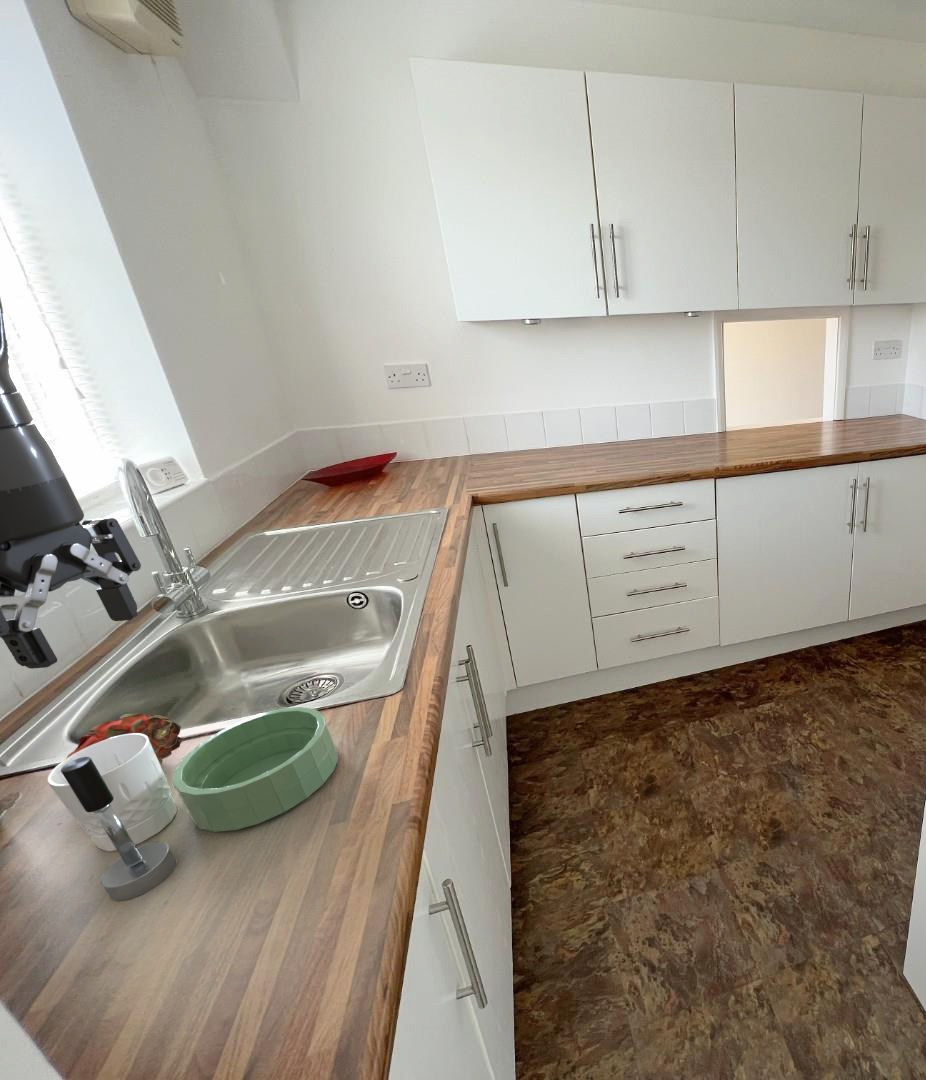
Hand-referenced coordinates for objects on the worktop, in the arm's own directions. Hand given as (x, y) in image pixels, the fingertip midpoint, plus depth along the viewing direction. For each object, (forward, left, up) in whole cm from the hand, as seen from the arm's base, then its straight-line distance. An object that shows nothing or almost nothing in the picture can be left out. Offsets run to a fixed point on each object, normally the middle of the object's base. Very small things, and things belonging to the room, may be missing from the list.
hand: (87, 641), depth 57 cm
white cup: (-6, +1, -25) cm, 26 cm away
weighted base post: (+1, -6, -25) cm, 25 cm away
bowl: (+6, +6, -25) cm, 26 cm away
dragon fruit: (-14, +10, -25) cm, 30 cm away
